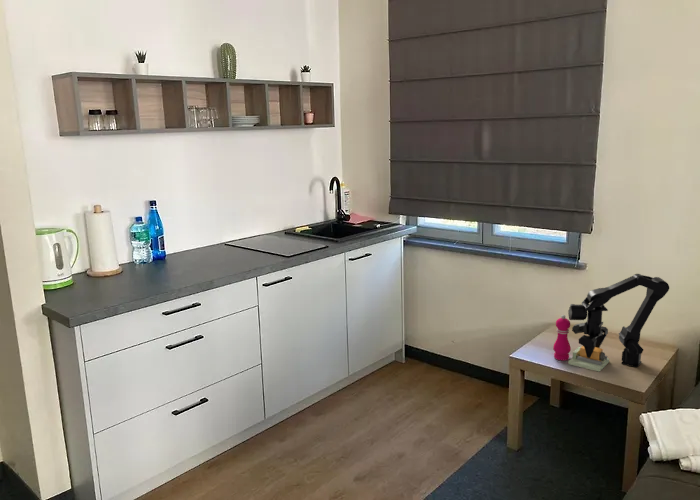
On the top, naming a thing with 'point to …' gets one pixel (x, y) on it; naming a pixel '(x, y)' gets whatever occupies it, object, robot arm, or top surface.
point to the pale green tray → (587, 361)
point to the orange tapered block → (593, 354)
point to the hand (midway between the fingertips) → (592, 354)
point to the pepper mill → (562, 339)
